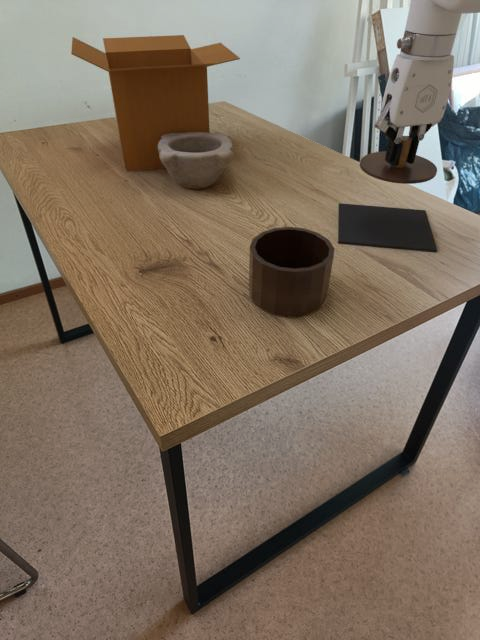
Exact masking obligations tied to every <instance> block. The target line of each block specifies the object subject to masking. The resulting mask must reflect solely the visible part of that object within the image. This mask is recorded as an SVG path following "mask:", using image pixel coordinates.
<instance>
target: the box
mask: <svg viewBox="0 0 480 640" xmlns="http://www.w3.org/2000/svg"><path fill="white" fill-rule="evenodd" d="M102 41H103V47H104V50H105V51H102V50H100V49H98V48H96V47H95V46H92V45H90V44H89V43H87V42H84V41H82V40H80V39H78V38H76V37H75V36H72V39H71V50H70V51H71V52H70V53H71V55H72V56H74V57H76V58H78V59H81V60H83V61H85V62H86V63H89V64H91V65H93V66H95V67H97V68H99V69H102V70H104V71H106V72H108V77H109V84H110V90H111V97H112V101H113V107H114V113H115V119H116V126H117V131H118V137H119V143H120V149H121V153H122V159H123V164H124V165H123V166H124V169H125V171H126V172H134V171H143V170H153V169H154V170H155V169H162V168H163V169H164V168H166V167H165V166H164V165H163V163H162V162H161V160H160V157H159V152H158V143H159V141H160V140H161V136H163V135H164V134H167V133H187V132H207V133H211V132H210V111H209V109H210V108H209V85H208V84H209V83H208V68H209V67H212V66H216V65H221V64H225V63H230V62H234V61H237V60H238V61H239V60H240V59H241V57H240V56H238V55H237V54H235V53H234V52H233V51H232V50H231V49H229V48H228V47H227V46H226V45H224V44H223V43H222V42H215V43H213V44H208V45H203V46H199V47H195V48H191V46H190V45H189V42H188V40H187V38H186V36H185V35H184V34H178V35H174V34H173V35H151V36H129V37H127V36H125V37H124V36H123V37H106V38H105V37H103V38H102Z"/></svg>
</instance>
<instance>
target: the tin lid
mask: <svg viewBox="0 0 480 640" xmlns="http://www.w3.org/2000/svg"><path fill="white" fill-rule="evenodd" d="M411 142H412V138H411V137H409V135H403V136H402V140H401V142H400V143H402V144H403V147H402V151H401V155H400V160H399V164H398V165H397V166H393V165H391V164H389V163H388V162H386V161H385V156H386V151H387V150H384V151H375V152H371V153H367V154H365V155H364V156H362V157H361V159H360V160H359V167H360V170H361V171H362V172H363V173H365V174H366V175H367V176H370V177H372V178H374V179H376V180H380V181H384V182H388V183H392V184H403V185H412V184H413V185H414V184H422V183H426V182H429V181H431V180H433V179H434V178H435V177H436V176H437V173H438V167H437V165H436V164H435V163H434V162H432V161H431V160H430V159H427V158H425V157H422V156H421V155H418V154H416V156H415V160H414V163H412V164H409V163H408V162H407V158H408V154H409V150H410V146H411Z"/></svg>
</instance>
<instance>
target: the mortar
mask: <svg viewBox="0 0 480 640" xmlns="http://www.w3.org/2000/svg"><path fill="white" fill-rule="evenodd" d="M233 148H234V144H233V142H232V140H231V138H230V135H229V134H227V133H225V132H219V131H218V132H210V133H207V132H187V133H167V134H164V135H163V136H161V140H160V141H159V143H158V152H159V157H160V160H161V162H162V163H163V165H164V166H165V167H164V168H165V169H166V171H167V172H168V174H169V175H170V177H171V178H172V179H173V181H174V182H175V183H176V184H177V185H179V186H181V187H182V188H187V189H191V190H193V189H194V190H199V189H205V188H209V187H211V186H213V185H214V184H216V183H217V182H218V180H219V179H220V178H221V176H222V174H223V173H224V171H225V169H226V168H227V167H228V166H230V165H231V163H232V162H233V161H234V157H235V154H234V151H233Z"/></svg>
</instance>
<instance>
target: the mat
mask: <svg viewBox="0 0 480 640" xmlns="http://www.w3.org/2000/svg"><path fill="white" fill-rule="evenodd" d="M337 225H338V230H337V231H338V233H337V235H338V236H337V243H338V244H342V245H351V246H352V245H353V246H363V247H373V248H384V249H385V248H386V249H397V250H408V251H419V252H430V253H437V252H438V248H437V247H438V246H437V244H436V240H435V237H434V234H433V231H432V228H431V224H430V221H429V217H428V214H427V210H426V209H415V208H405V207H404V208H403V207H389V206H378V205H367V204H366V205H364V204H354V203H353V204H352V203H338V224H337Z"/></svg>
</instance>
